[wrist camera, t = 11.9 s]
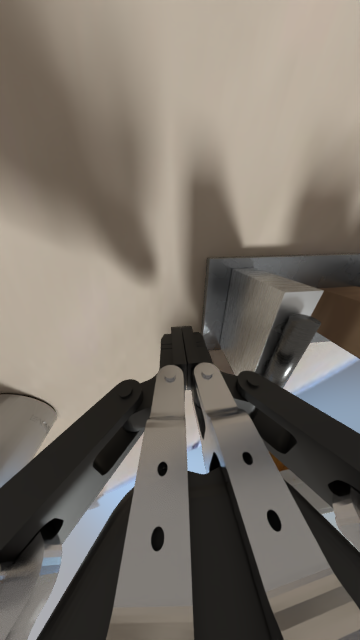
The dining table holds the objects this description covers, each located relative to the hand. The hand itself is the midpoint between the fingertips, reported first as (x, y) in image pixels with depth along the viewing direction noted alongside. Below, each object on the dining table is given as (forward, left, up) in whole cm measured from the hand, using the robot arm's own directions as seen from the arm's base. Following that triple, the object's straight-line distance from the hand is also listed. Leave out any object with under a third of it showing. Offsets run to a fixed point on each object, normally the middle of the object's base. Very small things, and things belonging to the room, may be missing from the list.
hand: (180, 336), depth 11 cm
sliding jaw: (+6, 0, -4) cm, 7 cm away
